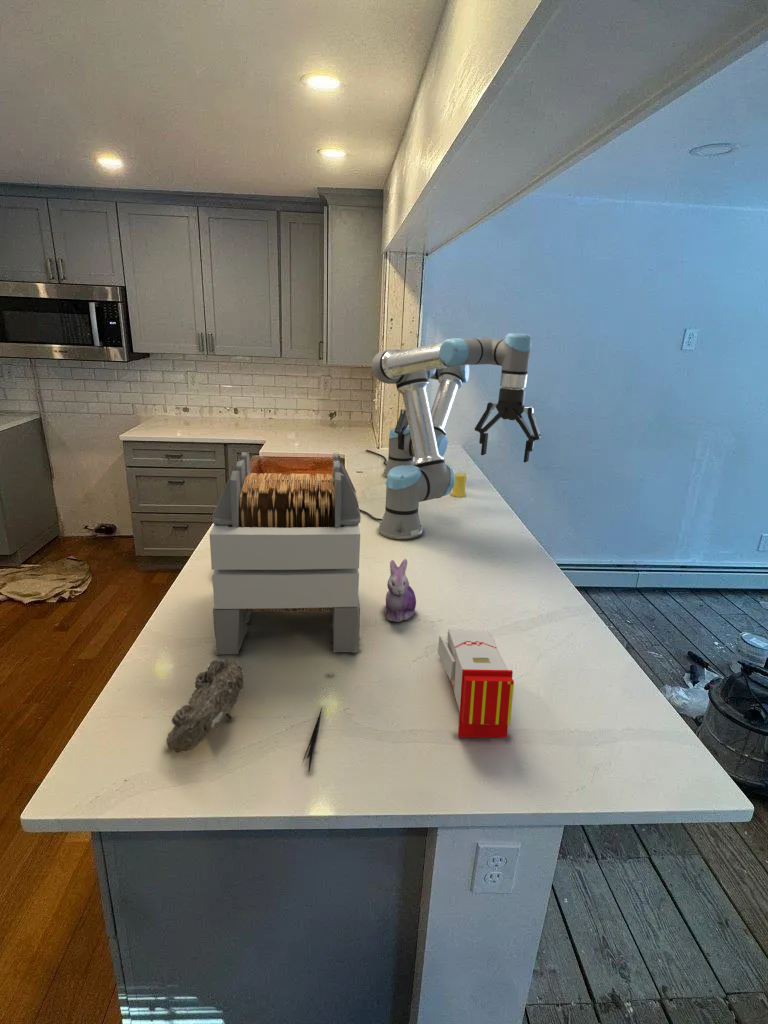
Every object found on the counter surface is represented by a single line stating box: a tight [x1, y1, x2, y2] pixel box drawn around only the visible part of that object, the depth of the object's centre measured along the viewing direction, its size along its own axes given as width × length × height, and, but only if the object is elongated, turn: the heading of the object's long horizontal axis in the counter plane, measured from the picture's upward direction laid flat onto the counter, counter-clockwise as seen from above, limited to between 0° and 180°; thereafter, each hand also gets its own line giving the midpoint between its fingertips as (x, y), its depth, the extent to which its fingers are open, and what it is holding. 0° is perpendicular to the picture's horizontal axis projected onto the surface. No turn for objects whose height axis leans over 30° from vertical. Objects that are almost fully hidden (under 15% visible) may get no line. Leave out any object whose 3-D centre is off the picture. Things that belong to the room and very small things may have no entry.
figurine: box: [384, 558, 417, 623], centre depth 145 cm, size 9×10×15 cm
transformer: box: [209, 451, 362, 656], centre depth 137 cm, size 34×33×41 cm
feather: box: [301, 673, 332, 771], centre depth 108 cm, size 2×28×2 cm
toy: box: [437, 628, 515, 738], centre depth 117 cm, size 12×13×30 cm
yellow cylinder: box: [451, 472, 468, 498], centre depth 243 cm, size 5×5×9 cm
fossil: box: [166, 658, 245, 754], centre depth 106 cm, size 22×10×15 cm
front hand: (504, 457), depth 175 cm, fingers open, 13 cm apart
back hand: (411, 446), depth 239 cm, fingers open, 13 cm apart
